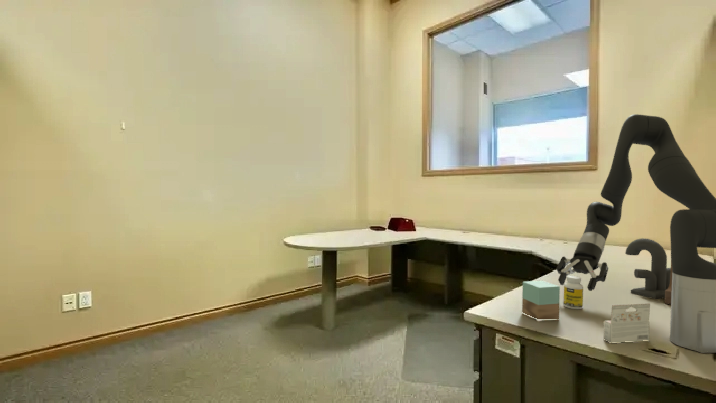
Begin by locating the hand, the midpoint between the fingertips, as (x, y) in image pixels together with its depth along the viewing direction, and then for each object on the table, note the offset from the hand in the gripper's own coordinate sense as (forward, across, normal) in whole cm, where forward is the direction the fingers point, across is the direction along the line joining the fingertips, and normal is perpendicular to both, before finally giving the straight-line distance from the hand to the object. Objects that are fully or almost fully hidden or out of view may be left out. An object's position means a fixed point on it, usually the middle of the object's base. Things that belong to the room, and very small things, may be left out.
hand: (574, 286), depth 120 cm
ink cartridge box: (+19, +20, -9) cm, 29 cm away
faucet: (-26, +9, +35) cm, 44 cm away
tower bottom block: (+18, -2, -9) cm, 21 cm away
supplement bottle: (+6, 0, +4) cm, 7 cm away
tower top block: (+15, -2, -13) cm, 20 cm away
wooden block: (-18, +20, +28) cm, 39 cm away
